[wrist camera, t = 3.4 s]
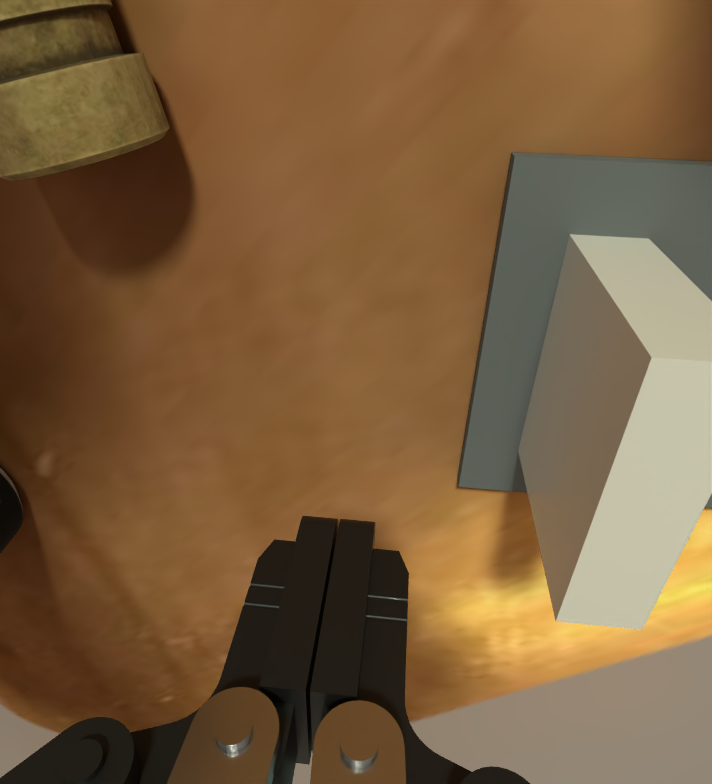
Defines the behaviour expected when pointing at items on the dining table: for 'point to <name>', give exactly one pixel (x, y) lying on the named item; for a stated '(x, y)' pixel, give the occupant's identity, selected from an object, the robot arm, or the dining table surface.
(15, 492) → the beverage can
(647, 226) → the mat
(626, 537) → the tile
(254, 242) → the dining table surface
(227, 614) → the dining table surface
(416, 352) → the dining table surface
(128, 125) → the gavel
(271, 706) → the robot arm
